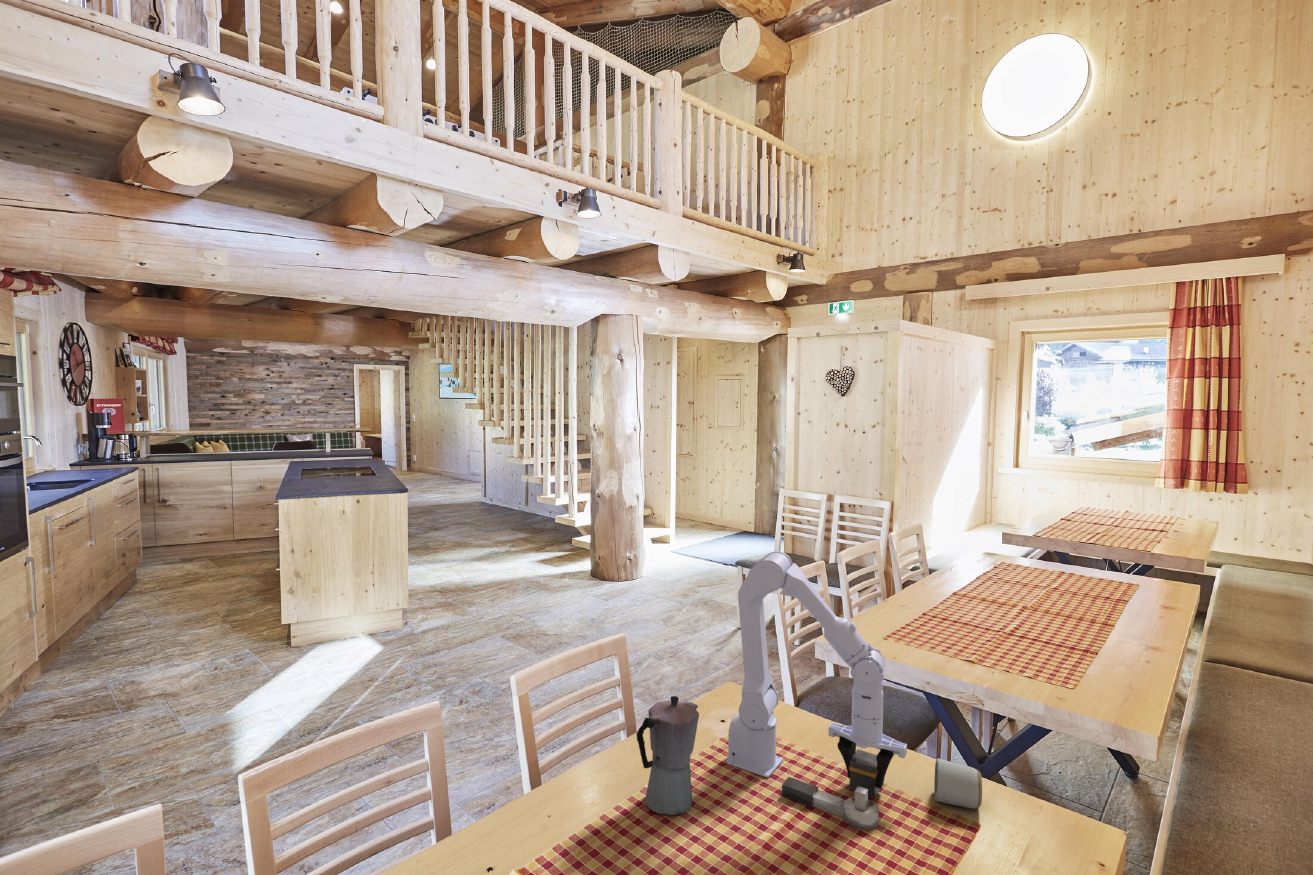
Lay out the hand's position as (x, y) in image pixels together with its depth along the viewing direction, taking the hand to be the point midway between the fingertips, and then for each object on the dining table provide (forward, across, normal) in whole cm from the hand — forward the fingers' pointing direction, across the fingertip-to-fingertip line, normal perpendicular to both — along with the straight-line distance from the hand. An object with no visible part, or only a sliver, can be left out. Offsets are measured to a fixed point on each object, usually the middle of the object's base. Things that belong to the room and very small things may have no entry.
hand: (865, 781), depth 124 cm
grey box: (+1, 0, 0) cm, 1 cm away
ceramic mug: (+2, +15, +7) cm, 16 cm away
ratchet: (+1, -4, -10) cm, 11 cm away
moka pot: (+2, -29, -26) cm, 39 cm away
